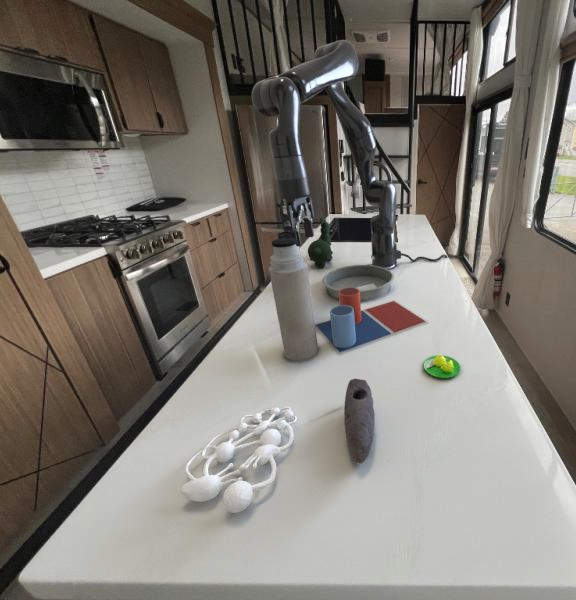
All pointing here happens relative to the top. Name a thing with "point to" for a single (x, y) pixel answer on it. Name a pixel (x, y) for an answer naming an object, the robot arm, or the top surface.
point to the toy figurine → (321, 246)
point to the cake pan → (359, 280)
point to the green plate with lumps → (443, 366)
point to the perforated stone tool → (359, 419)
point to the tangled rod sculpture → (240, 491)
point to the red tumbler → (351, 301)
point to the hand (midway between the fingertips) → (303, 241)
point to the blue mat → (358, 331)
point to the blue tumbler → (343, 326)
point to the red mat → (395, 316)
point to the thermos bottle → (293, 300)
